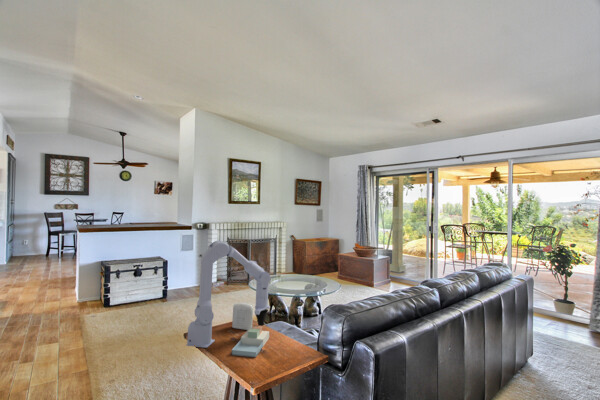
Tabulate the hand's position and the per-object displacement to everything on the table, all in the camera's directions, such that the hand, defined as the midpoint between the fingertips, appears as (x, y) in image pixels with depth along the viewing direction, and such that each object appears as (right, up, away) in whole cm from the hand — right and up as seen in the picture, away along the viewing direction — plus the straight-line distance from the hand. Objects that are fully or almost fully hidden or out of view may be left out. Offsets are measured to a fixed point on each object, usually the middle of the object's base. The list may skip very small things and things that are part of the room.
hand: (260, 325), depth 148 cm
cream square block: (-1, -3, -9) cm, 9 cm away
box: (-3, -3, -19) cm, 19 cm away
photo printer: (-10, -4, +7) cm, 13 cm away
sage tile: (-2, 0, -11) cm, 11 cm away
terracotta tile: (-1, -1, -6) cm, 6 cm away
